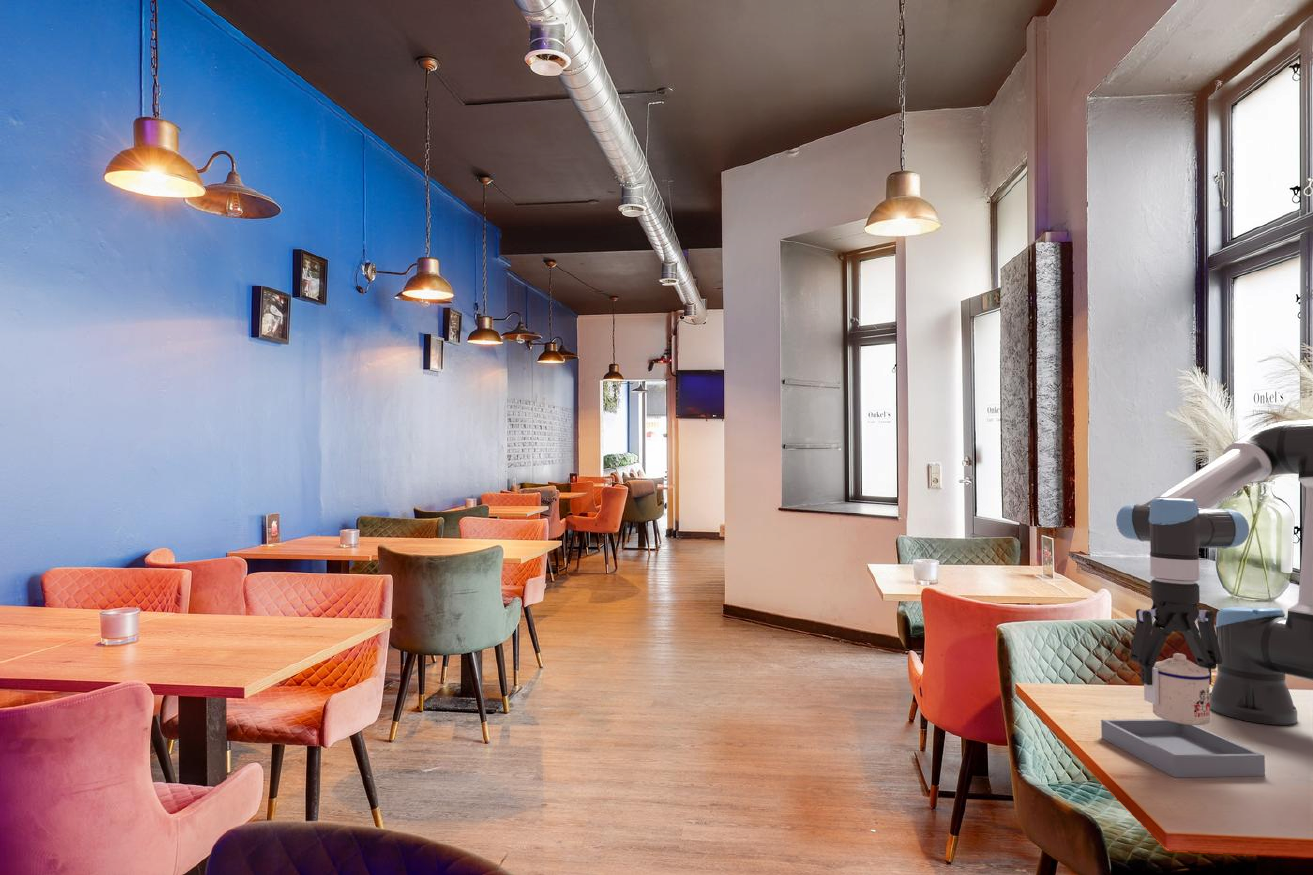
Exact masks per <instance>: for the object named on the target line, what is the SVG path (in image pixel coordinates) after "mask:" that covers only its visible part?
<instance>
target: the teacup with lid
mask: <svg viewBox="0 0 1313 875" xmlns="http://www.w3.org/2000/svg"><path fill="white" fill-rule="evenodd" d="M1197 665H1198V664H1196V663H1195V662H1192V661H1191V660H1189V659H1187V655H1186V654H1184V653H1180V652H1175V653H1173V654H1172V657H1171V658H1166V659H1164V660H1161V661H1156V663H1155V665H1154V667H1155V668H1158V673H1159V705H1155V704H1153V703H1152V713H1153V714H1154V716H1157V717H1158V718H1159V719H1165V720H1168V721H1171V722H1175V723H1180V724H1187V725H1196V726H1205V725H1208V724H1209V723H1210V722H1211V709H1210V693H1211V692H1210V685H1209V678H1210V677H1211V678H1212V674H1211V675H1210V673H1209V671H1208V670H1206V669H1205V668H1202V667H1199V666H1197Z"/></svg>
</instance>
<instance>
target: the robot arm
mask: <svg viewBox="0 0 1313 875" xmlns="http://www.w3.org/2000/svg"><path fill="white" fill-rule="evenodd" d="M1292 474H1294V475H1298V477H1297V478H1298V479H1297V480H1298V482H1299V483H1301V484H1302V485H1303V486H1304V487H1305V489H1306V496H1305V497H1306V498H1305V510H1304V523H1303V537H1302V549H1301V551H1302V552H1301V562H1300V575H1299V576H1300V577H1299V587H1298V600H1297V602H1296V604H1294V605H1292V606H1291V607H1290V608H1288V609H1287V617H1286V614H1285V613H1284V610H1283V609H1282V608H1278V607H1266V606H1265V607H1264V606H1262V607H1261V606H1231V607H1230V606H1229V607H1223V608H1219V610H1218V611H1217V612H1216V616H1215V612H1214V611H1210V610H1206V609H1202V608H1201V609H1199V607H1198V604H1199V603H1200V601H1201V600H1200V597H1201V596H1200V594H1201V593H1200V585H1199V583H1197V582H1198V581H1199V580H1200V559H1199V557H1200V556H1199V553H1200V552H1199V549H1229V548H1235V547H1239V546H1241V545H1242V544H1244V543H1245V542H1246V541H1247V539H1248V537H1249V535H1250V526H1249V523H1248V520H1247V519H1246V517H1245V516H1244V515H1243V514H1242V513H1240V512H1239V511H1237V510H1234V509H1231V508H1228V509H1227V508H1222V507H1217V508H1213V507H1215V506H1216V505H1217V504H1219V503H1220V502H1222V501H1224V500H1226V499H1227V498H1228V497H1229V496H1231V495H1232V494H1235V493H1236V492H1237V491H1239V490H1240V489H1242V488H1243V487H1245V486H1246V485H1247V486H1248V484H1250V483H1255V482H1261V481H1264V480H1265V479H1267V478H1268V477H1271V476H1275V475H1276V476H1277V475H1292ZM1115 520H1116V521H1115V522H1116V527H1117V530H1118V532H1119V533H1120V534H1121V535H1122V536H1123V537H1124V538H1126V539H1129V540H1135V541H1140V542H1149V544H1150V546H1149V547H1150V551H1149V553H1150V555H1149V560H1150V561H1149V563H1150V565H1149V566H1150V568H1149V569H1150V570H1149V571H1150V574H1149V575H1150V576H1151V577H1152V578H1154V579H1152V580H1150V582H1149V583H1150V584H1149V585H1150V599H1151V600H1152V606H1151V607H1150V608H1151V609H1140V608H1138V609H1136V611H1135V617H1136V623H1135V624H1136V625H1135V629H1134V635H1133V639H1132V643H1131V648H1130V654H1129V660H1130V662H1133V663H1136V664H1138V665H1139V666H1140V681H1141V684H1143V693H1144V694H1143V696H1144V697H1143V699H1144V701H1146V702H1148V703H1150V704H1152V705H1153V704H1155V705H1159V673H1158V668H1155V667H1154V665H1155V663H1156V662H1158V659H1159V655H1160V654H1161V652H1162V650H1163V647H1164V645H1165V644H1166V641H1167V638H1168V637H1170V636H1171V635H1172V633H1174V632H1180V633H1181V634H1182V635H1183V637H1184V640H1185V641H1186V643H1187V645H1188V647H1189V649H1190V651H1191V653H1192V655H1193V658H1194V659H1195V661H1196V663H1197V664H1196V665H1197V666H1199V667H1202V668H1205V669H1206V670H1208V671H1209V673H1210V675H1211V677H1210V678H1209V686H1211V684H1212V670H1216V669H1217V671H1216V672H1217V673H1216V676H1215V679H1214V683H1213V685H1212V688H1211V692H1210V710H1211V711H1214V712H1216V713H1217V714H1220V715H1223V716H1225V717H1228V718H1229V717H1230V718H1233V719H1237V720H1241V721H1247V722H1251V723H1257V724H1265V725H1278V726H1282V725H1283V726H1285V725H1287V726H1288V725H1293V724H1296V723H1297V722H1298V709H1297V707H1296V706H1295V705H1294V702H1293V699H1292V696H1291V692H1290V690H1289V688H1288V686H1287V683H1286V682H1287V681H1286V675H1288V676H1293V677H1297V678H1300V679H1305V680H1308V681H1313V419H1304V420H1303V419H1302V420H1285V421H1279V422H1275V423H1272V424H1269V425H1267V426H1263V427H1261V428H1259V429H1257V430H1254V431H1253V432H1250V433H1248V434H1246V435H1244V436H1242V437H1239V439H1237V440H1235V441H1234V442H1232V443H1230V444H1229V445H1227V446H1226V447H1225V449H1224V450H1223V452H1222V455H1221V456H1219V457H1217V458H1216V459H1214V460H1212V461H1211V462H1209V463H1208V464H1207V465H1205V466H1202V467H1201V468H1200V469H1198V470H1196V471H1195V472H1194V473H1192V474H1190V475H1189V476H1187V477H1186V478H1184V479H1183V480H1181V481H1179V482H1178V483H1176V484H1174V485H1173V486H1172V487H1169V488H1168V489H1167V490H1165V491H1163V492H1162V493H1161V494H1159V495H1158V496H1156V497H1154V498H1153V499H1151V500H1149V501H1148V502H1145V503H1143V504H1139V503H1134V504H1125V505H1124V506H1122V507H1121V508H1120V510H1119V511H1118V512H1117V514H1116V519H1115ZM1215 617H1216V620H1215ZM1195 622H1197V623H1195Z"/></svg>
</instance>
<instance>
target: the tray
mask: <svg viewBox="0 0 1313 875" xmlns="http://www.w3.org/2000/svg"><path fill="white" fill-rule="evenodd" d="M1100 722H1101V725H1100V727H1101V739H1102V740H1105V741H1106V742H1109V743H1110V744H1112V745H1114V746H1116V747H1117V748H1120V749H1122V750H1123V751H1125V752H1127V753H1129V754H1130V755H1132V756H1133V757H1135V758H1138V759H1140V760H1141V761H1143V762H1145V763H1147V764H1149V765H1151V766H1153V767H1154V768H1156V769H1158V770H1160V771H1162V772H1164V773H1165V774H1168V775H1169V776H1171V777H1172V778H1210V777H1211V778H1212V777H1213V778H1215V777H1217V778H1219V777H1223V778H1225V777H1266V759H1265V756H1266V755H1265V754H1262V753H1261V752H1258V751H1256V750H1253V749H1251V748H1249V747H1246V746H1244V745H1242V744H1240V743H1237V742H1235V741H1233V740H1232V739H1229V738H1225V737H1223V736H1221V735H1219V734H1217V733H1215V732H1212V731H1210V730H1207V729H1205V728H1203V727H1200V725H1187V724H1180V723H1175V722H1171V721H1168V720H1165V719H1162V718H1149V719H1148V718H1146V719H1144V718H1137V719H1101V720H1100Z"/></svg>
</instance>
